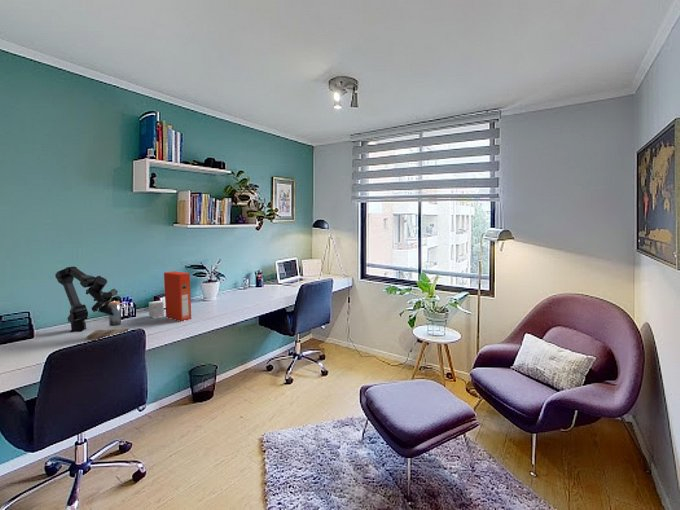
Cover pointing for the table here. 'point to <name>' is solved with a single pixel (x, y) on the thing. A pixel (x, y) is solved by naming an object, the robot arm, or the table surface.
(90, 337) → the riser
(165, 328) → the table surface
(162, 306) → the small box
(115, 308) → the tin
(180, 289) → the file binder
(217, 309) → the table surface
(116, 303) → the cargo block
